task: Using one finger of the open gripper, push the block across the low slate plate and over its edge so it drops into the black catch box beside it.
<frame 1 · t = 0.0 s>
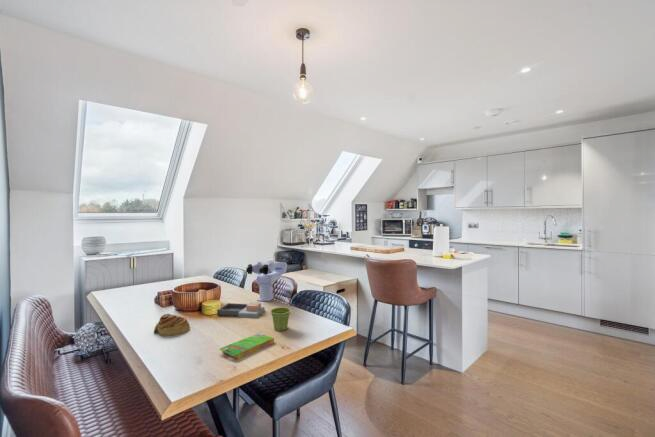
hand: (253, 270, 178), 22 cm above the table, tool horizontal, fingers open, 7 cm apart
game box: (247, 349, 128), on the table
pastry: (172, 331, 147), on the table
slate plate: (251, 313, 170), on the table
catch box: (232, 312, 172), on the table
plant pot: (280, 329, 149), on the table
block: (253, 308, 172), point 2 cm above the table, touching slate plate
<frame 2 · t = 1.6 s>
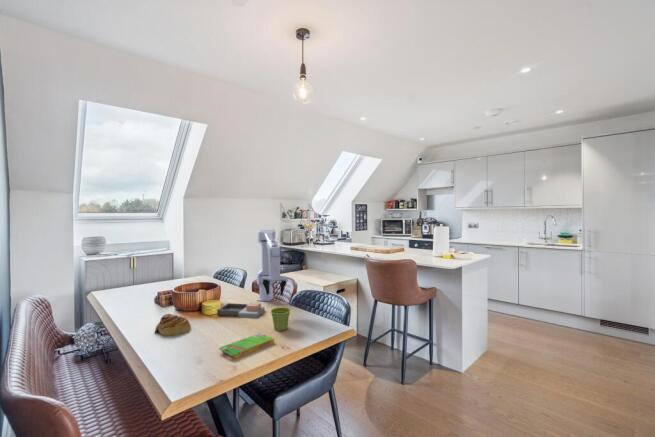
hand: (274, 294, 170), 10 cm above the table, tool pointing down, fingers open, 7 cm apart
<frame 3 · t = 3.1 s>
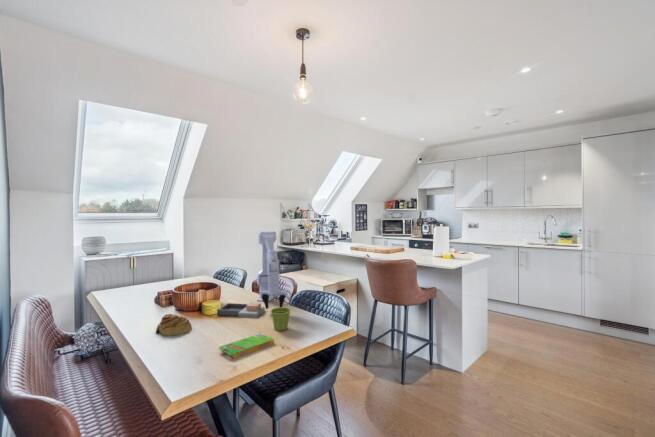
hand: (273, 308, 170), 3 cm above the table, tool pointing down, fingers open, 7 cm apart
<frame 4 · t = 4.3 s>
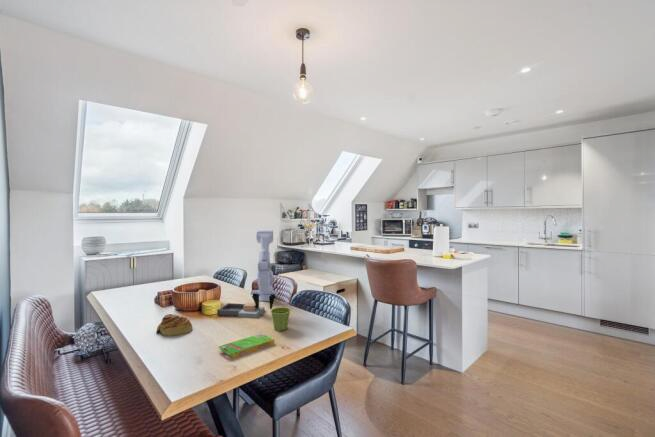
hand: (264, 308, 171), 3 cm above the table, tool pointing down, fingers open, 7 cm apart
block: (250, 308, 172), point 2 cm above the table
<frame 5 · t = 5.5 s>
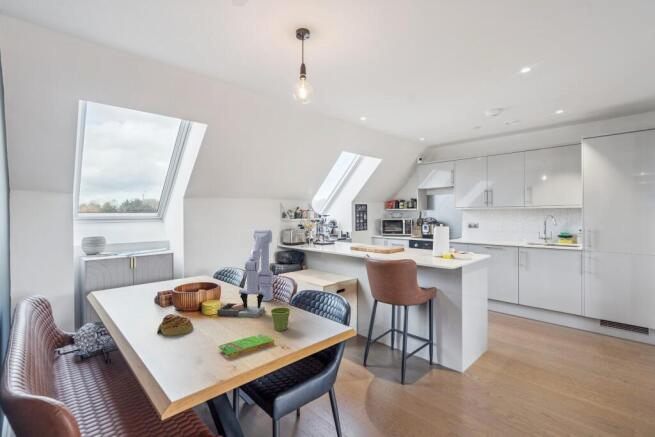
hand: (252, 307, 172), 3 cm above the table, tool pointing down, fingers open, 7 cm apart
block: (240, 308, 173), point 2 cm above the table, tilted 16°, touching gripper
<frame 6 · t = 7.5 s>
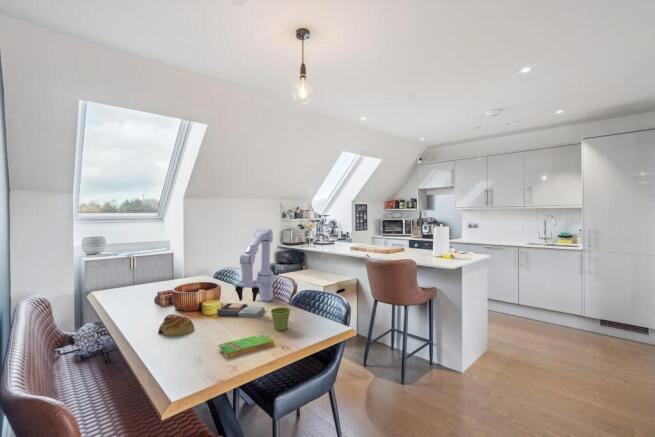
hand: (247, 300, 172), 6 cm above the table, tool pointing down, fingers open, 7 cm apart
block: (235, 310, 173), point 1 cm above the table, touching catch box
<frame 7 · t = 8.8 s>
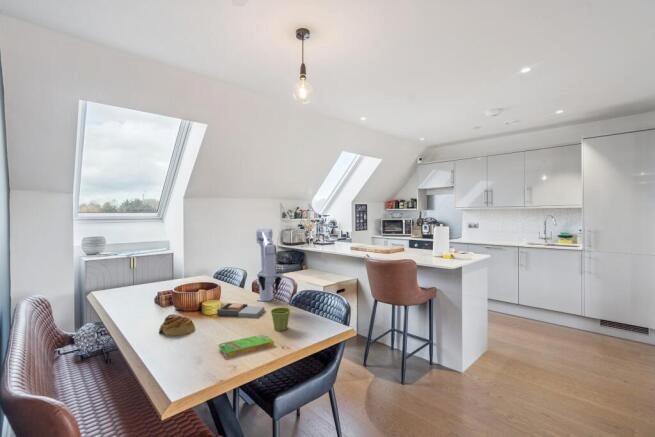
hand: (270, 290, 178), 10 cm above the table, tool pointing down, fingers open, 7 cm apart
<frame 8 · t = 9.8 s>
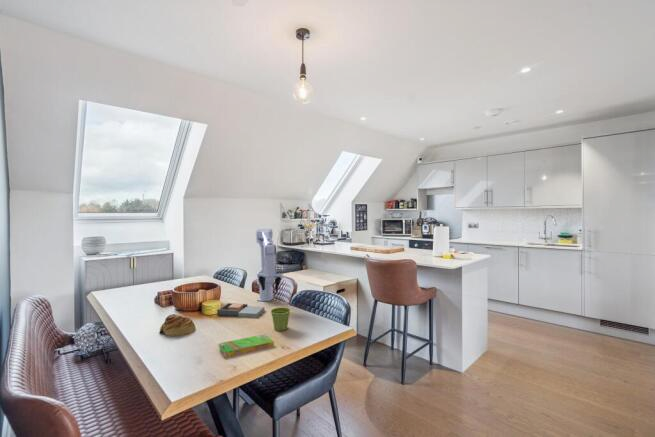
hand: (270, 290, 178), 10 cm above the table, tool pointing down, fingers open, 7 cm apart
at the end: block inside the target area on the catch box (2.1 cm from its centre), point 0.8 cm above the catch box's base; block moved 10.4 cm from its start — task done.
